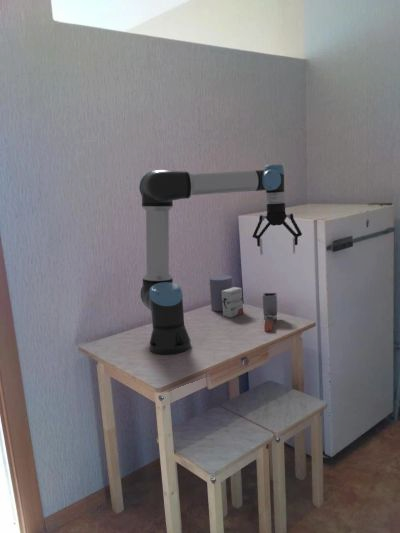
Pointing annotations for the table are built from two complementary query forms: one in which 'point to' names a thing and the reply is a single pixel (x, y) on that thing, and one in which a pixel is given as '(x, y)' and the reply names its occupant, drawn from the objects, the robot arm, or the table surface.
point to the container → (219, 290)
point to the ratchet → (269, 322)
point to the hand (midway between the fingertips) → (277, 253)
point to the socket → (270, 303)
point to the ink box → (232, 301)
